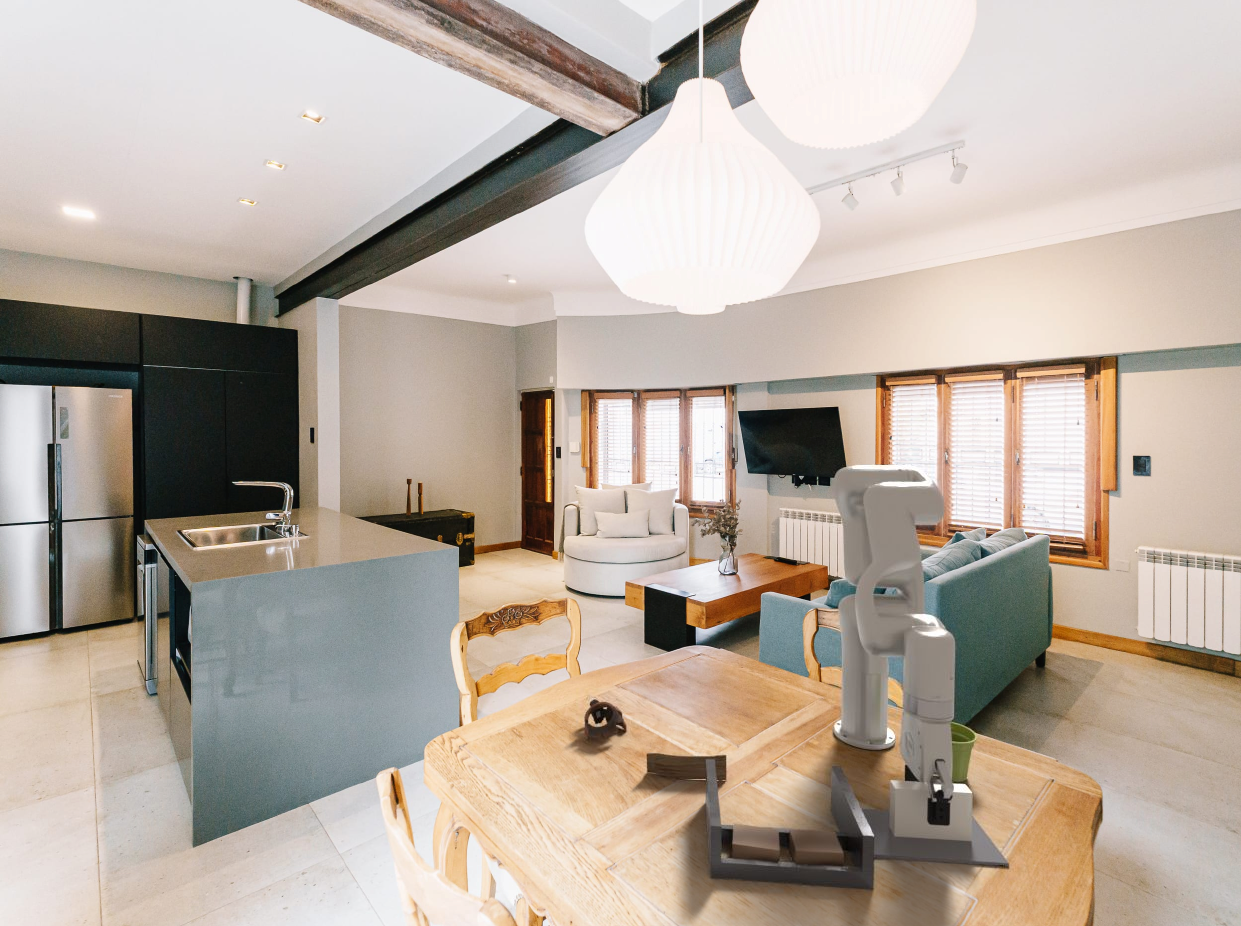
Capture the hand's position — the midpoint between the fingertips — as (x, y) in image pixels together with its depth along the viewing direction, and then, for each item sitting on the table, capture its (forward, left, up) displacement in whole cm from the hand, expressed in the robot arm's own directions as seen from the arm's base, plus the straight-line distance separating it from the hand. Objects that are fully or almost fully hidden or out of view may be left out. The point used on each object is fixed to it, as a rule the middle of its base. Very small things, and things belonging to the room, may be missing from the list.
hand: (925, 805), depth 100 cm
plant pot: (-20, +12, -6) cm, 24 cm away
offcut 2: (+8, -19, -5) cm, 22 cm away
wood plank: (-14, -39, -6) cm, 42 cm away
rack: (+3, -24, -5) cm, 25 cm away
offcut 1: (+8, -29, -5) cm, 30 cm away
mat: (0, 0, -5) cm, 5 cm away
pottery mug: (-30, -57, -6) cm, 65 cm away
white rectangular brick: (0, +1, -5) cm, 5 cm away
